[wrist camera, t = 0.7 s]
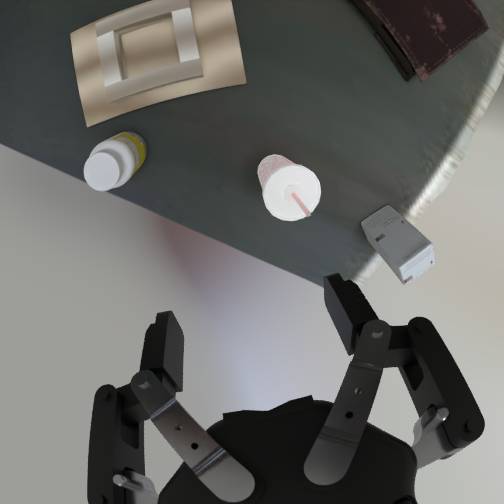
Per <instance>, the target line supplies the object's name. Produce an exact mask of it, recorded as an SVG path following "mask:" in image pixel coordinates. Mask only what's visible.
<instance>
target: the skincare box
mask: <svg viewBox="0 0 504 504" xmlns="http://www.w3.org/2000/svg"><path fill="white" fill-rule="evenodd" d="M361 225H362V228H363V230H364V232H365V235H366V237H367V240H368V241H369V243H370V244H371V245H372V246H373V247H374V248H375V250H376V251H377V252H378V253H379V254H380V256H381V257H382V258H383V259H384V260H385V262H386V263H387V264H388V265H389V267H390V268H391V269H392V270H393V272H394V273H395V274H396V276H397V277H398V278H399V279H400V281H401V282H402V284H403V285H406V284H407V283H409V282H410V281H412V280H413V279H414V278H417V277H418V276H420V275H421V274H423V273H424V272H425V271H426V270H427V269H428V268H430V267H431V266H432V265H434V264H435V263H436V262H435V256H434V250H433V246H432V243H431V242H430V241H429V240H428V239H427V238H426V237H425V236H424V235H423V234H421V232H419V231H418V230H417V229H416V228H415V227H414V226H413V225H412V224H411V223H409V222H408V221H407V220H406V219H405V218H404V217H403V216H401V215H400V214H399V213H398V212H397V211H396V210H394V209H393V208H392V207H391V206H390V205H386V206H385V207H383V208H381V209H380V210H378V211H376V212H375V213H373V214H372V215H370V216H369V217H367V218H366V219H364V220H363V221H362V222H361Z"/></svg>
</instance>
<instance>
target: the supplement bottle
mask: <svg viewBox="0 0 504 504" xmlns="http://www.w3.org/2000/svg"><path fill="white" fill-rule="evenodd" d="M146 152H147V150H146V144H145V142H144V140H143V139H142V138H141V137H140V136H139V135H138V134H136V133H134V132H122V133H119V134H117V135H115V136H113V137H111V138H109V139H107V140H105V141H103V142H101V143H99V144H98V145H97V146H96V147H95V148H94V149H93V150H92V152H91V154H90V157H89V158H88V160H87V161H86V163H85V166H84V177H85V180H86V182H87V183H88V185H89V186H90V187H92V188H93V189H95V190H98V191H106V190H109V189H111V188H116V187H119V186H121V185H123V184H124V183H126V182H127V181H128V180H129V179H130V178H131V176H132V175H133V174H134V173H135V172H136V171H137V170H138V168H139V167H140V166H141V165H142V164H143V162H144V160H145V158H146Z"/></svg>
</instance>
